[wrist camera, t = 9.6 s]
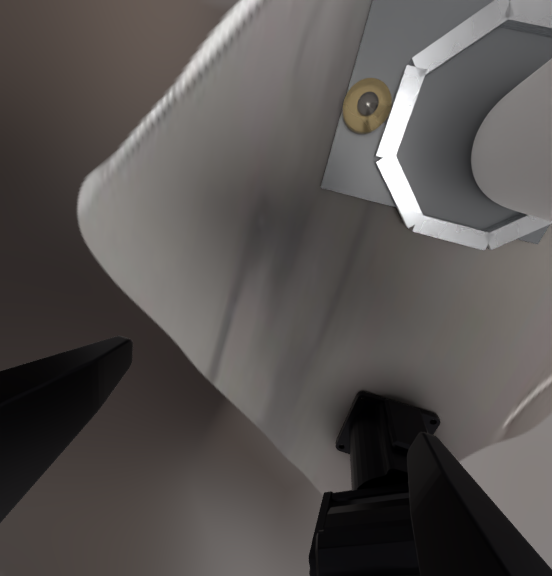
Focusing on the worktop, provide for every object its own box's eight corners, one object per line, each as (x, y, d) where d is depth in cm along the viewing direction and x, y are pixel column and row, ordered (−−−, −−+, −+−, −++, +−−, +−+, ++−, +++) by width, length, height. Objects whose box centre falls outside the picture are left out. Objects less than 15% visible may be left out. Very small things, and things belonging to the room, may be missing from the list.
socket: (536, 262, 18) (545, 266, 17) (354, 214, 18) (355, 216, 18) (680, 33, 13) (700, 25, 12) (432, -16, 14) (437, -26, 13)
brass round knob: (378, 138, 17) (383, 135, 15) (336, 128, 17) (337, 124, 15) (394, 89, 16) (401, 80, 14) (350, 79, 16) (352, 69, 14)
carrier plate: (532, 242, 18) (537, 244, 17) (320, 187, 19) (320, 187, 18) (657, 35, 14) (668, 31, 13) (378, -20, 15) (380, -27, 14)
